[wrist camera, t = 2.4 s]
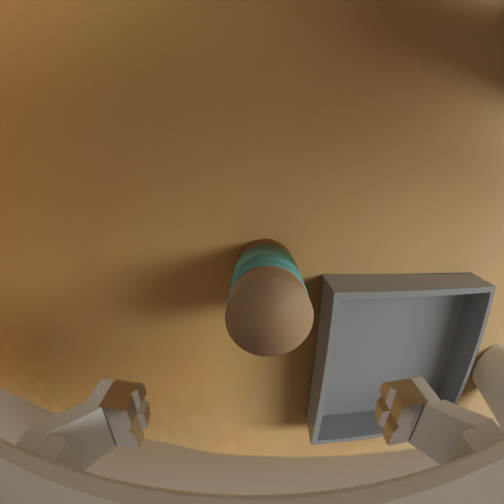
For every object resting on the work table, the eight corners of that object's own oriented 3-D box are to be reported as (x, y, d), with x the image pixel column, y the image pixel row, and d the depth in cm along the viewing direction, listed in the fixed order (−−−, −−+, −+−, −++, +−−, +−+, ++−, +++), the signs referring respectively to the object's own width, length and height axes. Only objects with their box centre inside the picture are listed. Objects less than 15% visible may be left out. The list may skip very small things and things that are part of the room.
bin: (470, 272, 24) (495, 286, 20) (434, 399, 27) (449, 421, 24) (322, 274, 24) (334, 292, 20) (305, 416, 28) (311, 444, 24)
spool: (295, 238, 23) (318, 276, 15) (293, 295, 25) (310, 356, 16) (235, 238, 24) (223, 275, 15) (235, 294, 25) (225, 356, 16)
